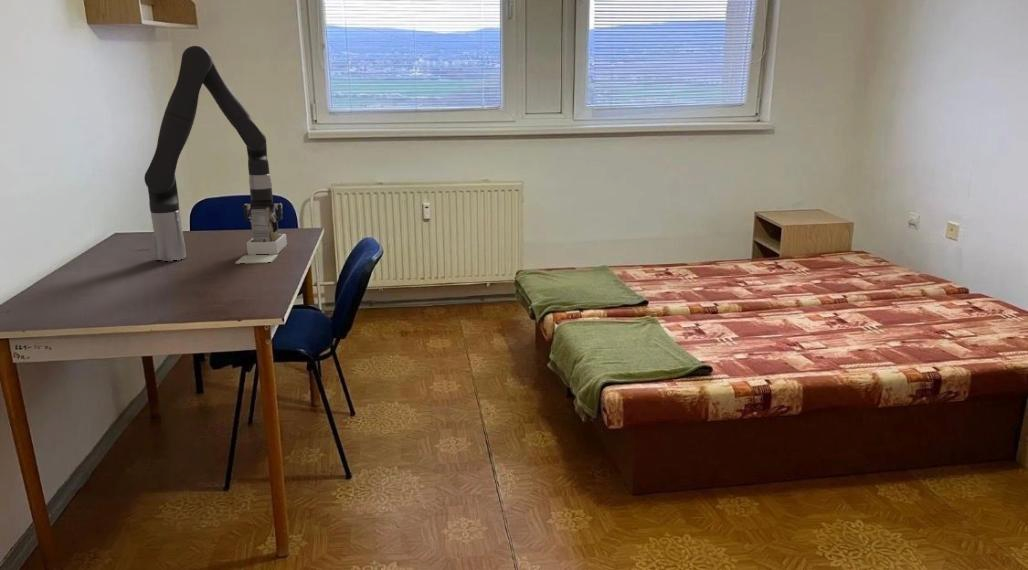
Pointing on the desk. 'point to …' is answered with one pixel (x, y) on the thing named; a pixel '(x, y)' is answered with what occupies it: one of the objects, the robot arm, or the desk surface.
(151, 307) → the desk surface
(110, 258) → the desk surface
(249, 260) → the mat
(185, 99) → the robot arm
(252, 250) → the bin
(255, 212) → the coffee box
